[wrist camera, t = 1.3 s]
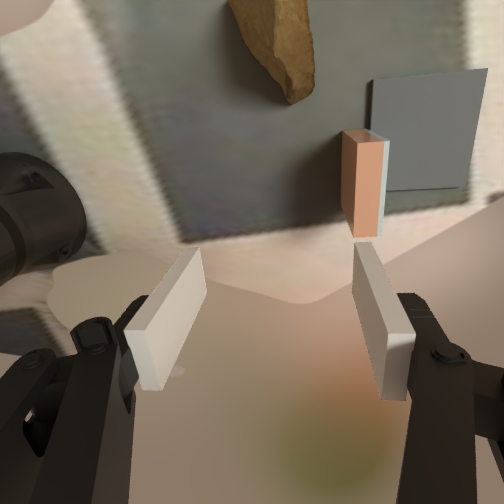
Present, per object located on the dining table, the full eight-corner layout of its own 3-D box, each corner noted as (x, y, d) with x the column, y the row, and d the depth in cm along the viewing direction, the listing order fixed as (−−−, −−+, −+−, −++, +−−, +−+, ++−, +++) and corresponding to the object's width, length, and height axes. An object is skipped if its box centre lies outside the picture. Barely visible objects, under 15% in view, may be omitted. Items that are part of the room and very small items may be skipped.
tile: (340, 203, 38) (353, 237, 29) (342, 130, 35) (357, 143, 26) (362, 202, 38) (381, 236, 29) (366, 128, 34) (389, 140, 25)
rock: (341, 106, 32) (353, -30, 26) (284, 123, 27) (284, -39, 21) (259, 98, 38) (255, -11, 33) (201, 111, 33) (185, -15, 28)
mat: (365, 189, 37) (366, 191, 36) (372, 79, 32) (373, 79, 32) (462, 184, 35) (465, 186, 35) (483, 68, 31) (488, 68, 30)
